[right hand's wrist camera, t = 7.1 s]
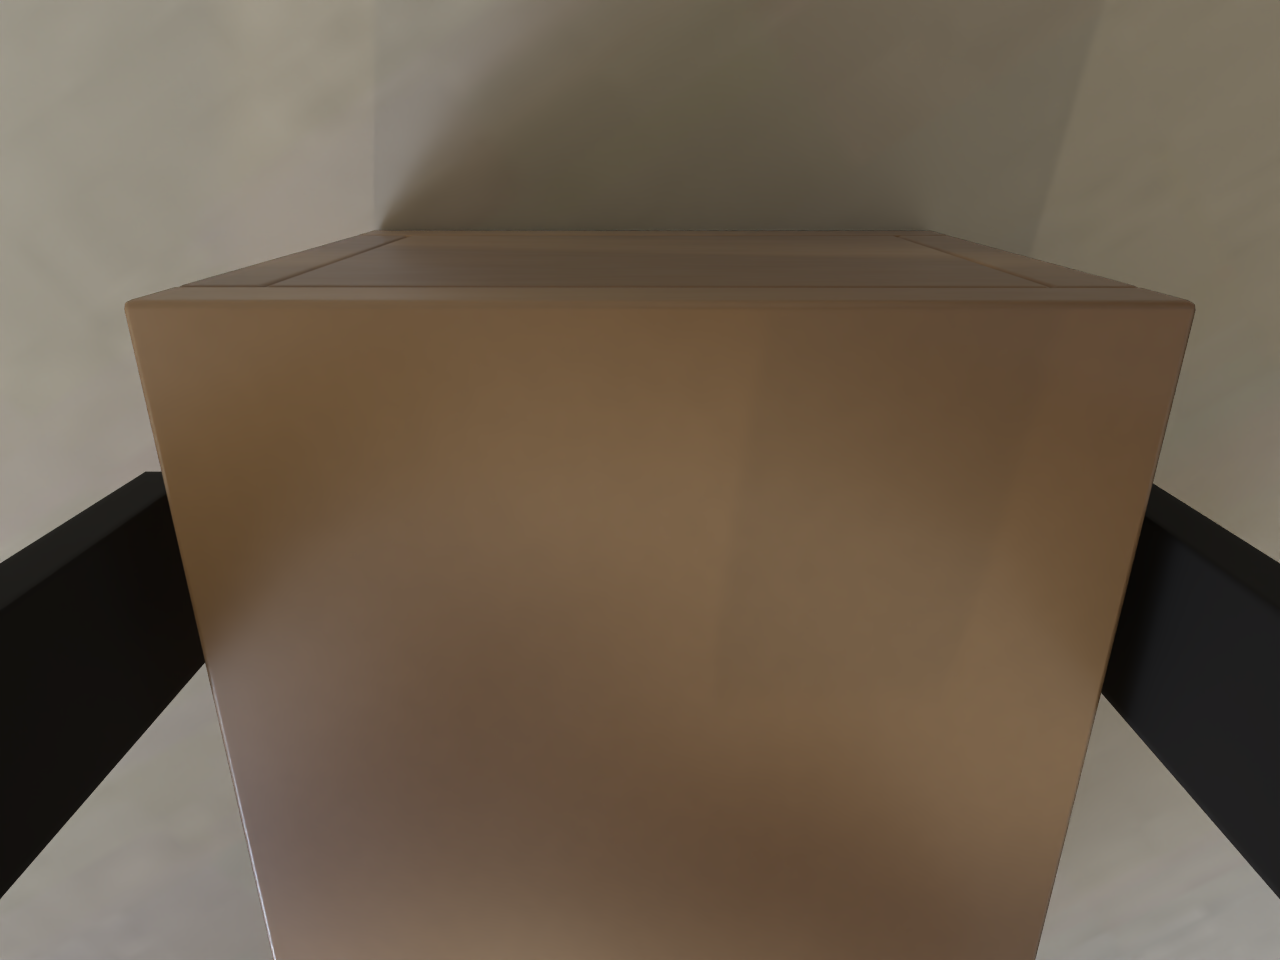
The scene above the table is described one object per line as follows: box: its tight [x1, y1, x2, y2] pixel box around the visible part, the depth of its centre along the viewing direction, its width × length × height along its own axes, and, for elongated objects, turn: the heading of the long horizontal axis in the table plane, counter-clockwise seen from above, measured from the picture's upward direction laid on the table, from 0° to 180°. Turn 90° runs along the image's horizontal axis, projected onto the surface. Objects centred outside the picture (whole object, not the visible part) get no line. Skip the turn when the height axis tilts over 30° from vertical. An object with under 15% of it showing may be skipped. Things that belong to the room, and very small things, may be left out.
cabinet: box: [125, 231, 1195, 960], centre depth 16 cm, size 17×11×9 cm
